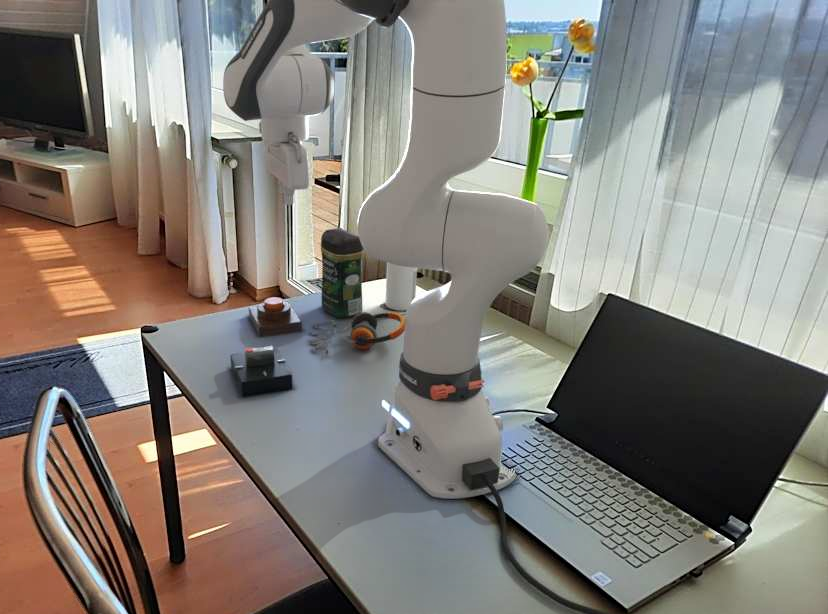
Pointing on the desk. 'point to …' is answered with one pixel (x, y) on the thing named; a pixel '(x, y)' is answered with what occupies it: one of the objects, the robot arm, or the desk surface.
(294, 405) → the desk surface
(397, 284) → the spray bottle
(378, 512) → the desk surface
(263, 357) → the dial
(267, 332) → the button block
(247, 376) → the dial panel
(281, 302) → the button
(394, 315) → the headphones
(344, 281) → the coffee jar
